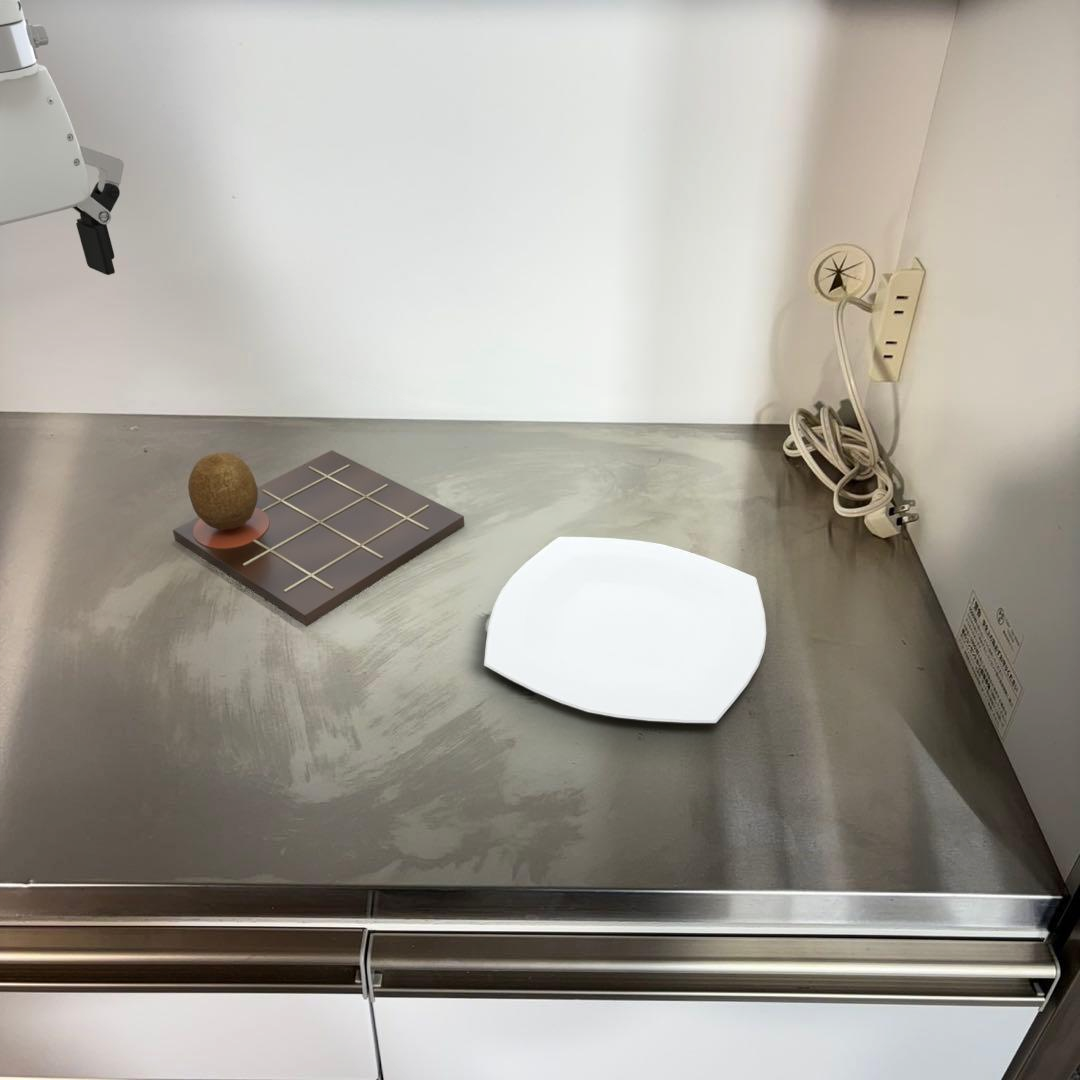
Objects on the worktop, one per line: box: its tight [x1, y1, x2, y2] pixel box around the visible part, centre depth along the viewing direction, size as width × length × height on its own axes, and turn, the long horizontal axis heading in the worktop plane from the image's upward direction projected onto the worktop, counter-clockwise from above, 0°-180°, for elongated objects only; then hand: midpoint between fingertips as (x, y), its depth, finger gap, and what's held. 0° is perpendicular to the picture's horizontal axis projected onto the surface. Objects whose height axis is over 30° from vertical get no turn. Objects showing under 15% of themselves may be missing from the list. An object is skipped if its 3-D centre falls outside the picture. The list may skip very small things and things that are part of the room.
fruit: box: [187, 452, 258, 530], centre depth 92 cm, size 6×6×8 cm
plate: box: [483, 536, 767, 725], centre depth 83 cm, size 23×23×2 cm
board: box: [172, 449, 465, 627], centre depth 95 cm, size 20×20×1 cm
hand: (46, 287), depth 78 cm, fingers open, 9 cm apart
